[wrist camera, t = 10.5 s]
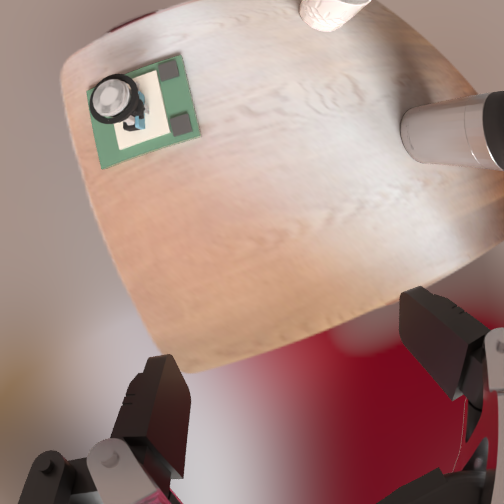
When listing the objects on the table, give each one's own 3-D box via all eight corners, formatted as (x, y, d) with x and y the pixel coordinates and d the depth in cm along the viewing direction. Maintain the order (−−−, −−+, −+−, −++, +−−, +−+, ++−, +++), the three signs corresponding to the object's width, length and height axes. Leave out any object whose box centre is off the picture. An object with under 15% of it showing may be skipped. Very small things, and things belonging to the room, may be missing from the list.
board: (182, 58, 31) (179, 51, 29) (201, 136, 34) (199, 134, 32) (90, 93, 31) (82, 89, 29) (105, 169, 34) (97, 169, 32)
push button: (119, 88, 30) (86, 67, 20) (158, 81, 30) (135, 54, 20) (120, 136, 32) (84, 127, 22) (159, 129, 32) (134, 116, 22)
